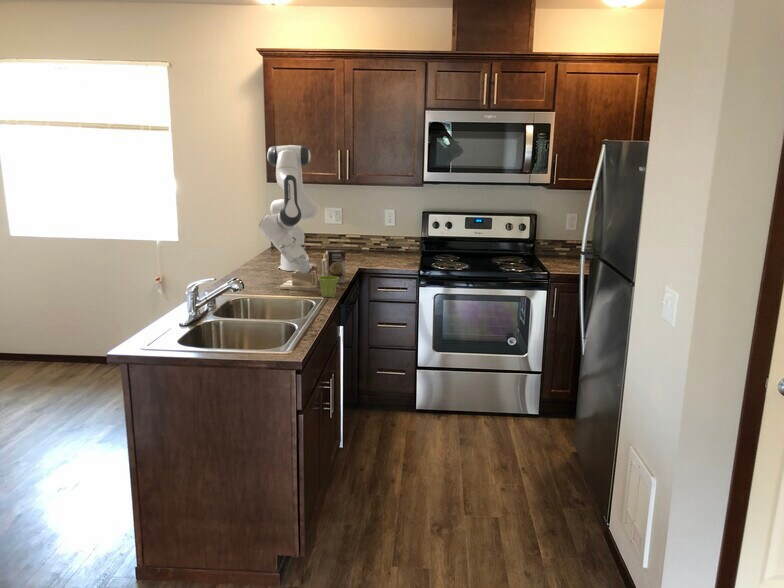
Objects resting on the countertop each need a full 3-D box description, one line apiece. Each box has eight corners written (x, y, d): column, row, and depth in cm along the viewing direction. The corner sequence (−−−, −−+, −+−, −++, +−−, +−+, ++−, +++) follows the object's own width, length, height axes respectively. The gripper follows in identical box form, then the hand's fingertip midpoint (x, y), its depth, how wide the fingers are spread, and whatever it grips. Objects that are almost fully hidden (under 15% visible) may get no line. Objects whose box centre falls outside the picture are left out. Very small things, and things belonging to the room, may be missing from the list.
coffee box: (327, 283, 310) (327, 251, 306) (325, 281, 316) (325, 249, 312) (345, 282, 312) (345, 251, 309) (342, 280, 318) (343, 249, 315)
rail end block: (301, 282, 302) (301, 258, 300) (309, 283, 302) (309, 259, 299) (299, 284, 299) (298, 260, 296) (307, 284, 298) (307, 260, 296)
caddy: (289, 282, 310) (288, 252, 306) (328, 284, 307) (328, 253, 304) (279, 289, 294) (278, 257, 291) (321, 291, 292) (321, 259, 288)
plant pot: (325, 299, 276) (325, 280, 274) (314, 295, 283) (314, 277, 281) (342, 296, 282) (342, 278, 280) (331, 293, 289) (331, 274, 287)
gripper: (283, 242, 286) (304, 264, 287) (295, 237, 306) (315, 257, 307) (274, 251, 288) (295, 273, 289) (287, 245, 308) (306, 265, 309)
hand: (305, 265), depth 298 cm, fingers open, 8 cm apart
